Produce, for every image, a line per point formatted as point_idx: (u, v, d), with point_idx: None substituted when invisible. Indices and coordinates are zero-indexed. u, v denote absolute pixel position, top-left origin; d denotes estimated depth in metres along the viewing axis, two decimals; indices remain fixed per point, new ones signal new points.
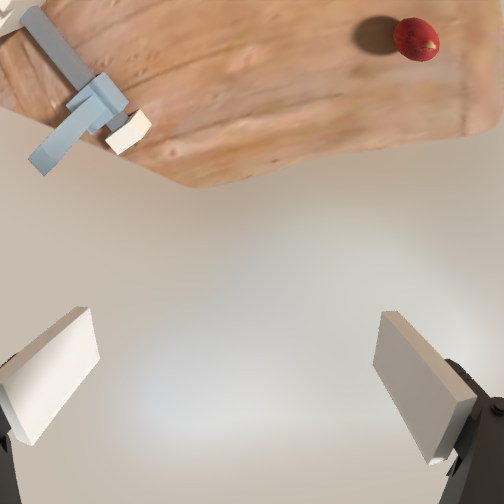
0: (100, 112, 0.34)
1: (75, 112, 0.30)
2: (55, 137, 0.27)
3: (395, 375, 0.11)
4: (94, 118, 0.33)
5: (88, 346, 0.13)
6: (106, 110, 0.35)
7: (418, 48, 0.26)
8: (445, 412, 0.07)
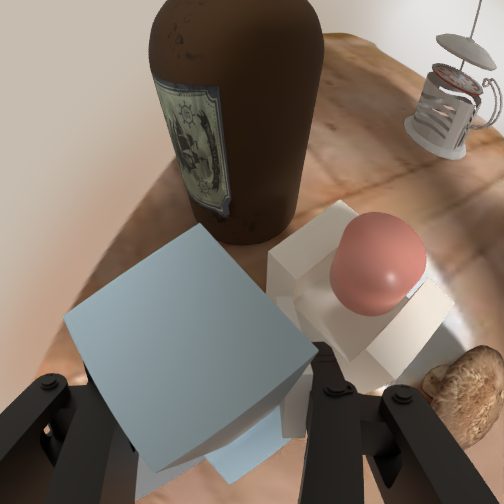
0: (232, 441, 0.13)
1: (275, 406, 0.11)
2: (270, 402, 0.06)
3: None
4: (230, 443, 0.12)
5: None
6: (228, 444, 0.14)
7: None
8: None
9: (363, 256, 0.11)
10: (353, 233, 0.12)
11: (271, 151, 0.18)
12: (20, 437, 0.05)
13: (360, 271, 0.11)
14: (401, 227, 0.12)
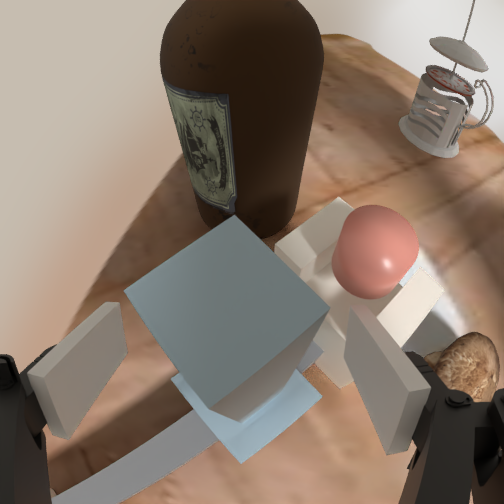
0: (244, 420, 0.15)
1: (285, 381, 0.12)
2: (288, 362, 0.07)
3: (360, 367, 0.12)
4: (243, 419, 0.13)
5: (118, 340, 0.13)
6: (239, 425, 0.16)
7: None
8: (399, 402, 0.08)
9: (362, 243, 0.13)
10: (353, 223, 0.13)
11: (275, 153, 0.20)
12: None
13: (359, 256, 0.12)
14: (396, 218, 0.14)
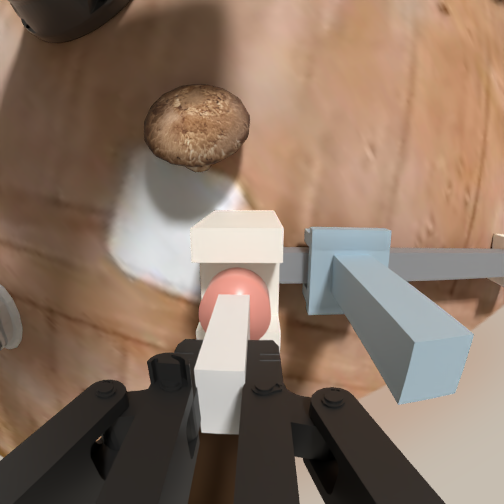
0: (373, 259, 0.21)
1: (358, 276, 0.17)
2: (405, 314, 0.12)
3: None
4: (383, 266, 0.19)
5: None
6: (372, 255, 0.22)
7: None
8: None
9: (254, 323, 0.16)
10: None
11: None
12: (68, 450, 0.05)
13: (266, 317, 0.16)
14: (206, 318, 0.16)
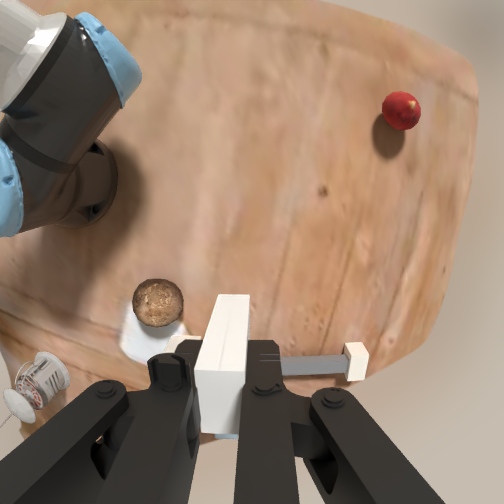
0: None
1: None
2: None
3: None
4: None
5: None
6: None
7: (412, 115, 0.36)
8: None
9: None
10: None
11: None
12: (68, 449, 0.05)
13: None
14: None
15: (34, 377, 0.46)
